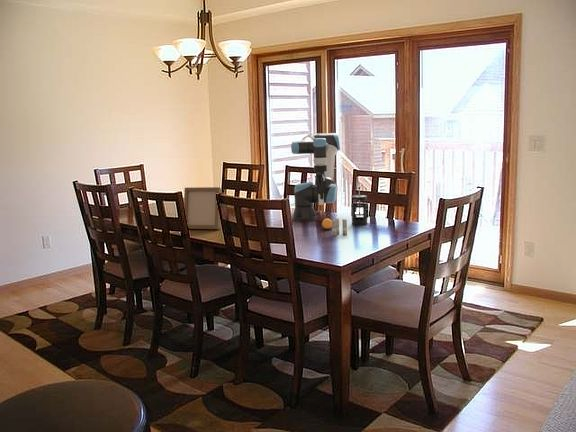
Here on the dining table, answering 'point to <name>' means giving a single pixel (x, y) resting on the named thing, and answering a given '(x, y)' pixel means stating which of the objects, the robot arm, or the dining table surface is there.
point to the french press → (356, 205)
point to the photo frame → (202, 207)
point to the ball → (327, 223)
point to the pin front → (337, 225)
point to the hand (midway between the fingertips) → (321, 204)
